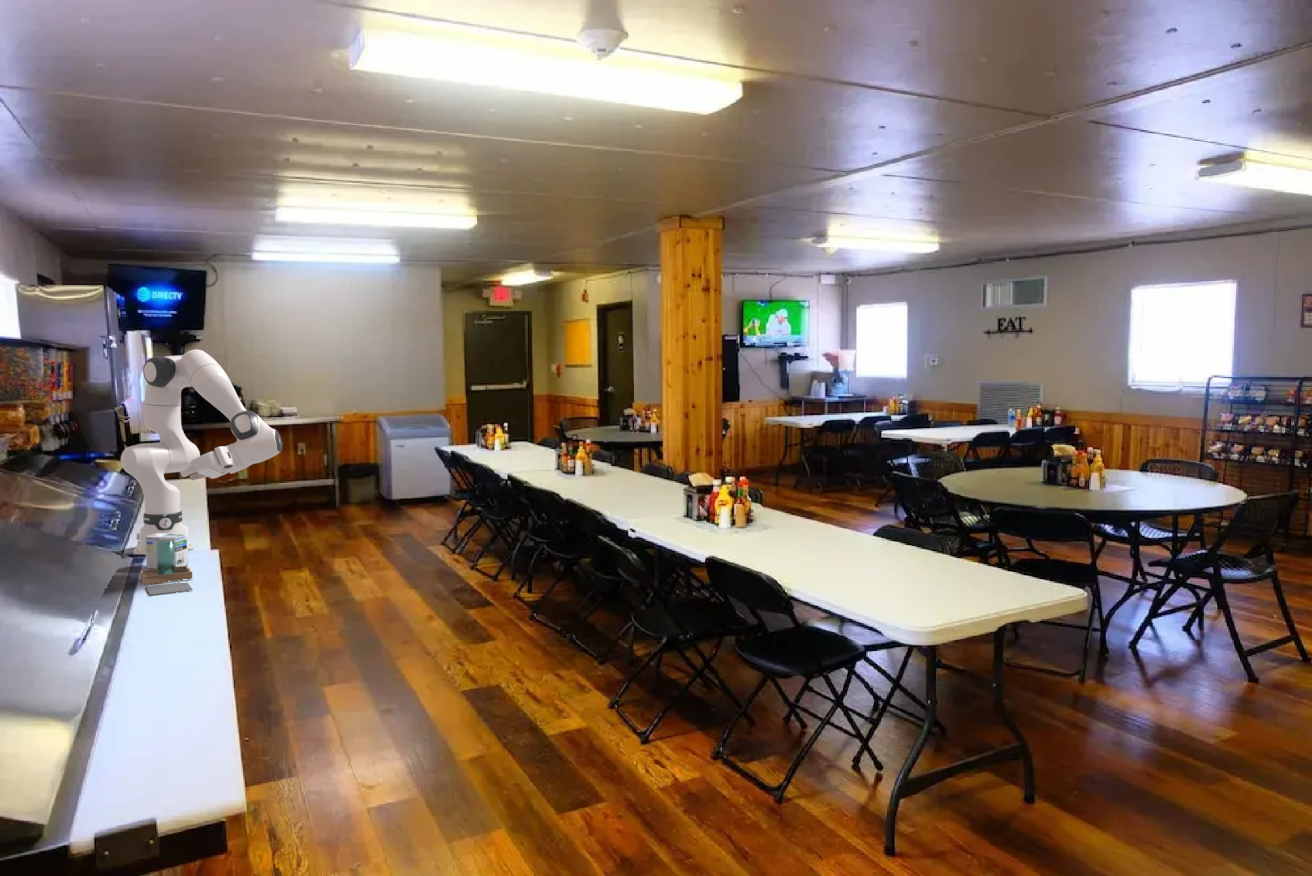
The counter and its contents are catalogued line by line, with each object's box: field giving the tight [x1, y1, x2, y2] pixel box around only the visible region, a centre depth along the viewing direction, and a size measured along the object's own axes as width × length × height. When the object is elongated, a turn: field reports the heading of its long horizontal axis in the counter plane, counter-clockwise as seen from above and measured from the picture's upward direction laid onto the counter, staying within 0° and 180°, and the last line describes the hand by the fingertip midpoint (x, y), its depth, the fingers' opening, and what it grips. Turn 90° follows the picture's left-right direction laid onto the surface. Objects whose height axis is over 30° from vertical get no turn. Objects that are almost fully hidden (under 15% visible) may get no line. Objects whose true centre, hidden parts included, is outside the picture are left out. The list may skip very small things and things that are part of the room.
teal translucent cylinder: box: [156, 540, 175, 575], centre depth 268 cm, size 5×5×12 cm
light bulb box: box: [145, 533, 189, 569], centre depth 284 cm, size 11×7×11 cm, turn 84°
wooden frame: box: [139, 565, 193, 586], centre depth 268 cm, size 10×13×2 cm
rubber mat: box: [144, 582, 193, 597], centre depth 256 cm, size 11×11×1 cm
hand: (186, 476), depth 272 cm, fingers open, 8 cm apart
